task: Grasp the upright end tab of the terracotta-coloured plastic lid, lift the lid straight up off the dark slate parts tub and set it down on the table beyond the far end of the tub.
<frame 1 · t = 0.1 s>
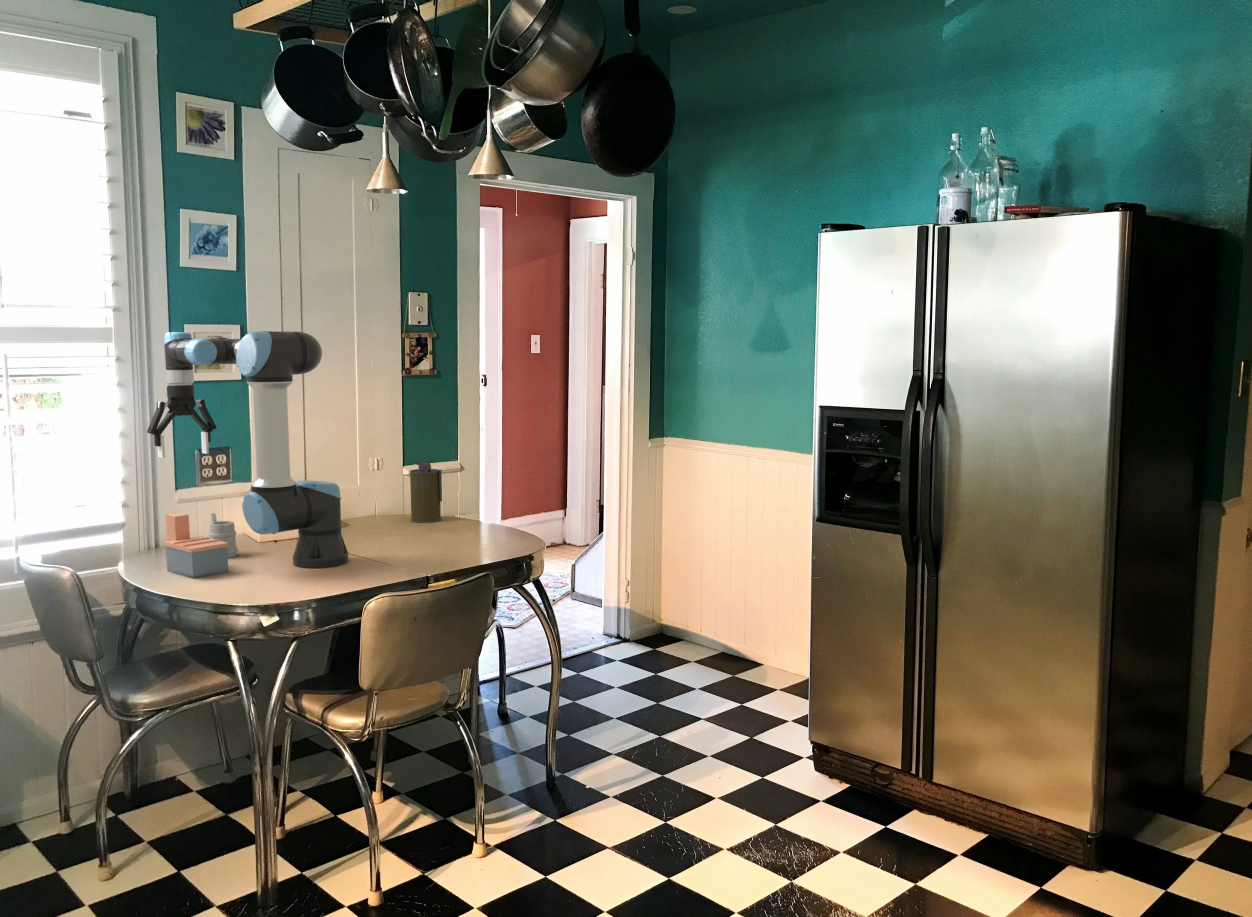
hand: (183, 455, 311), 28 cm above the table, fingers open, 13 cm apart
lid: (196, 545, 282), point 7 cm above the table, touching tub
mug: (220, 555, 304), on the table
canister: (426, 520, 361), on the table
tub: (197, 571, 283), on the table
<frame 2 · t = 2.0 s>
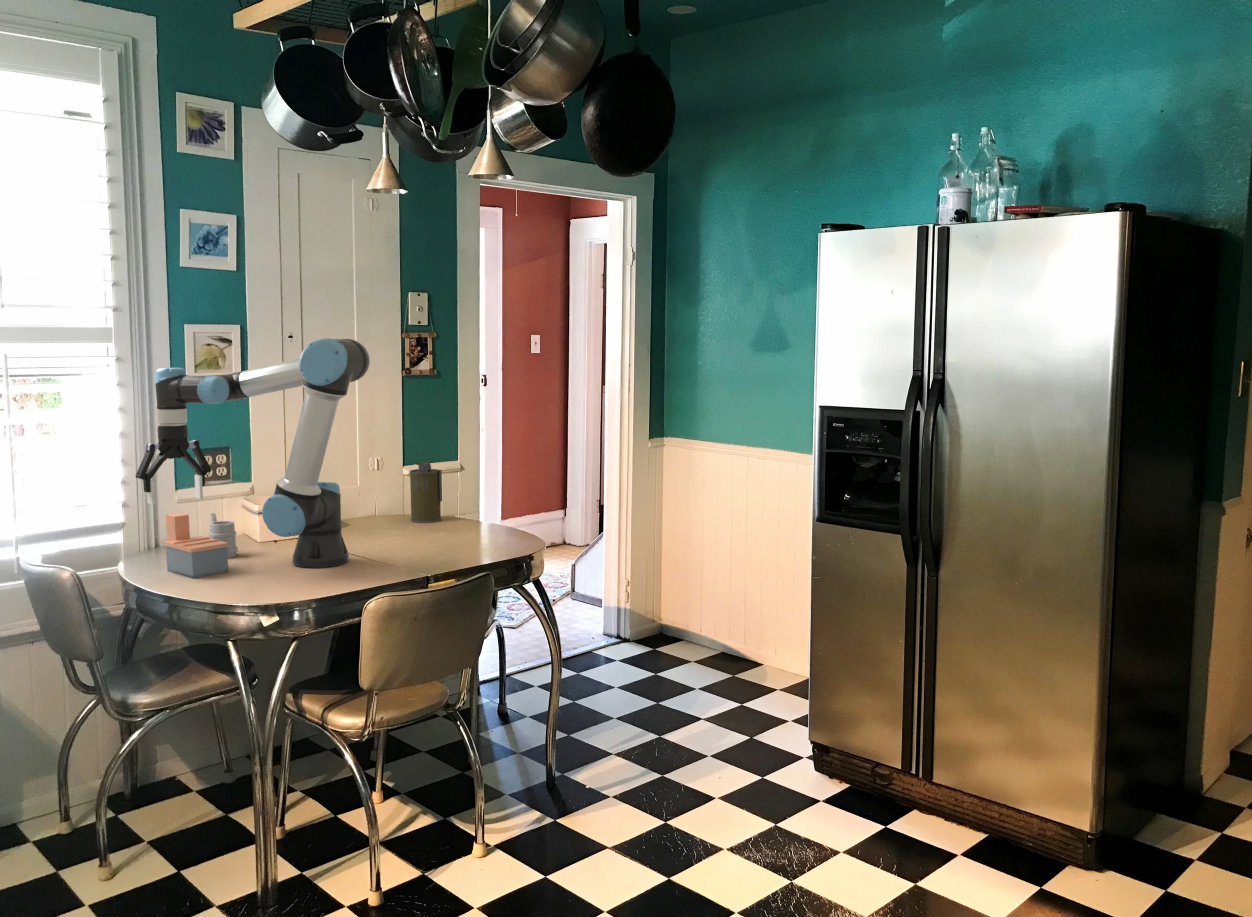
hand: (175, 501, 287), 18 cm above the table, fingers open, 13 cm apart
nothing on the table moved.
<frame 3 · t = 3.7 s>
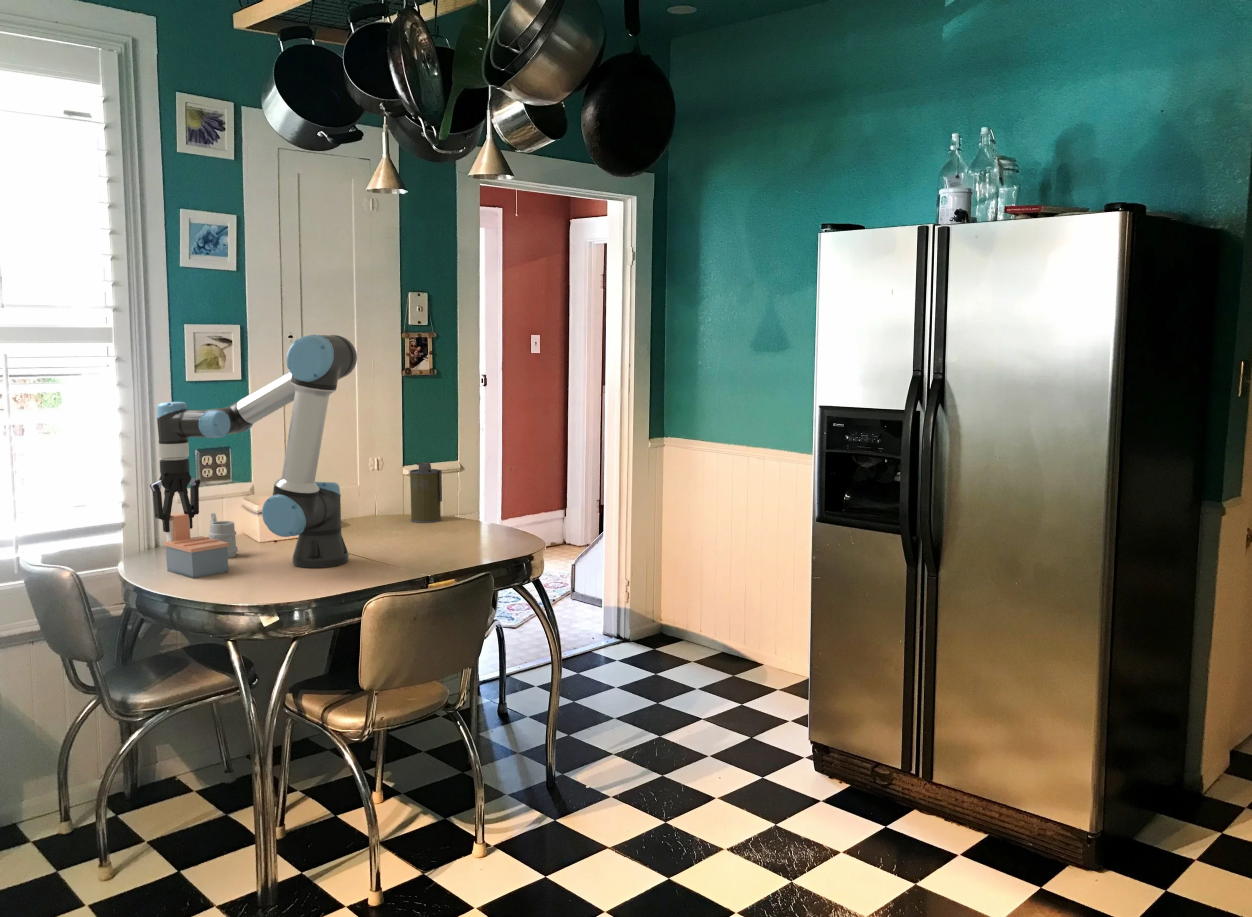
hand: (178, 541, 288), 7 cm above the table, fingers closed on lid, 4 cm apart
lid: (196, 545, 282), point 7 cm above the table, touching gripper, tub
everything else where it was.
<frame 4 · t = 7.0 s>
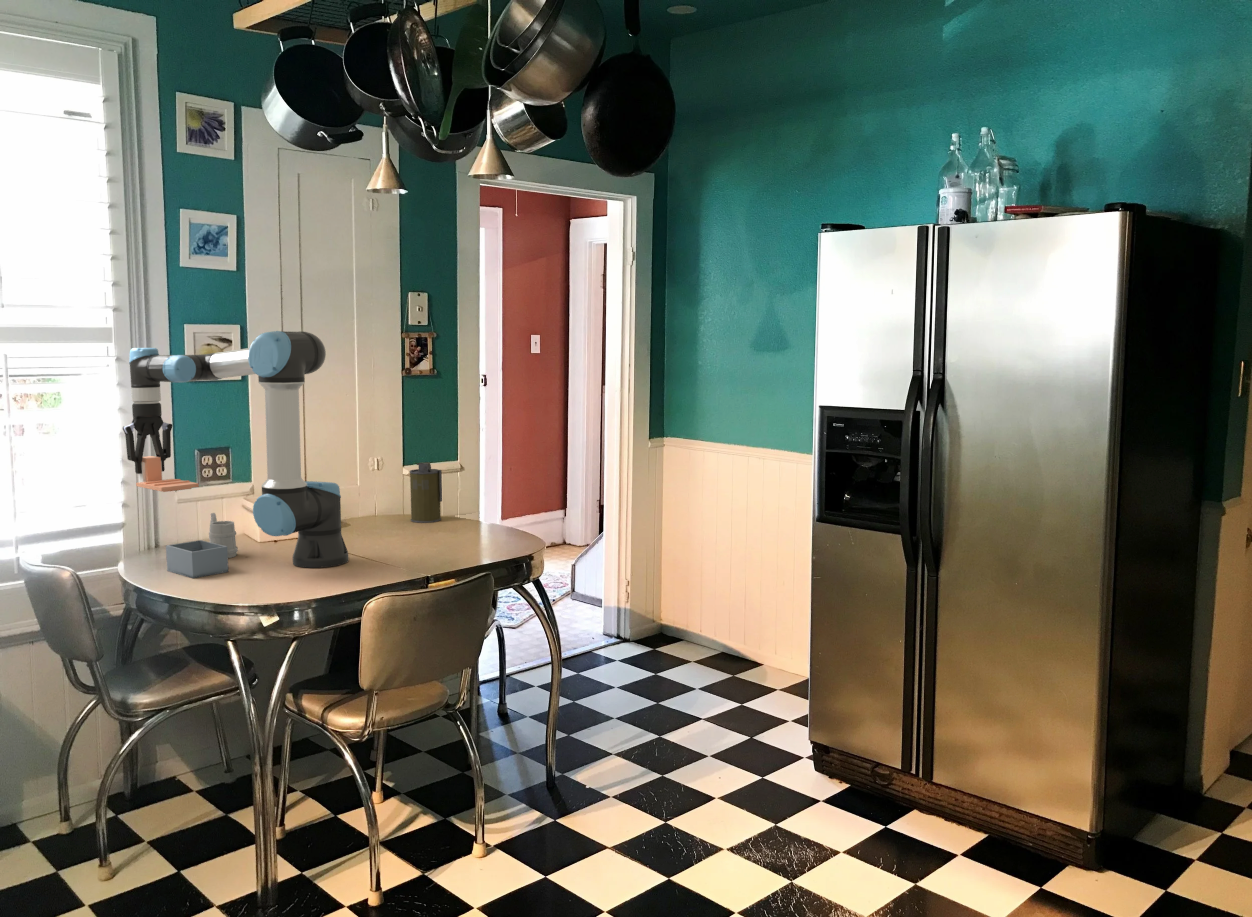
hand: (150, 483, 298), 21 cm above the table, fingers closed on lid, 4 cm apart
lid: (167, 486, 291), point 22 cm above the table, touching gripper
everything else where it was.
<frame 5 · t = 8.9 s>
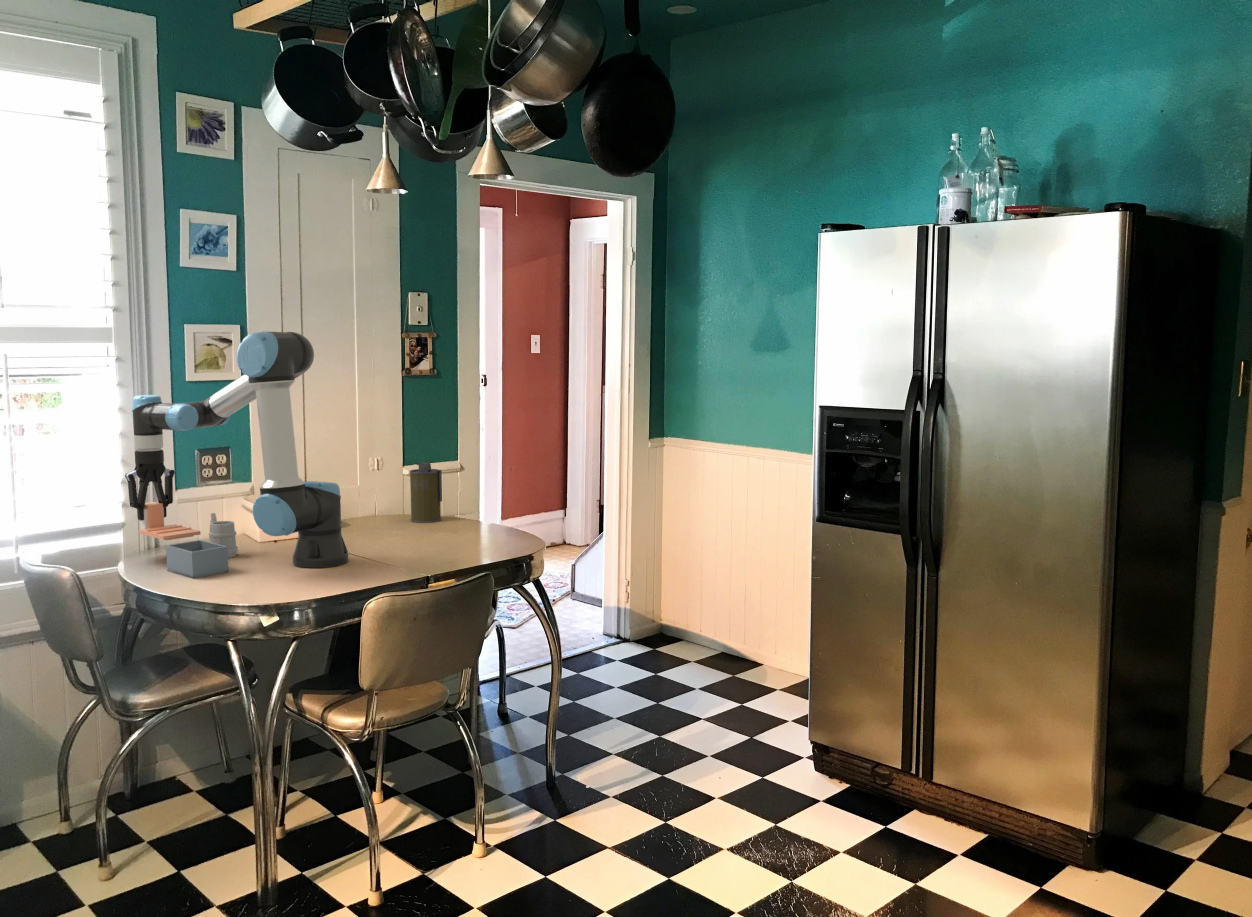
hand: (152, 529, 299), 8 cm above the table, fingers closed on lid, 4 cm apart
lid: (169, 533, 293), point 8 cm above the table, touching gripper
everything else where it was.
when the fingers open (2 cm above the table, at t = 10.2 s): lid drops 2 cm, on the table.
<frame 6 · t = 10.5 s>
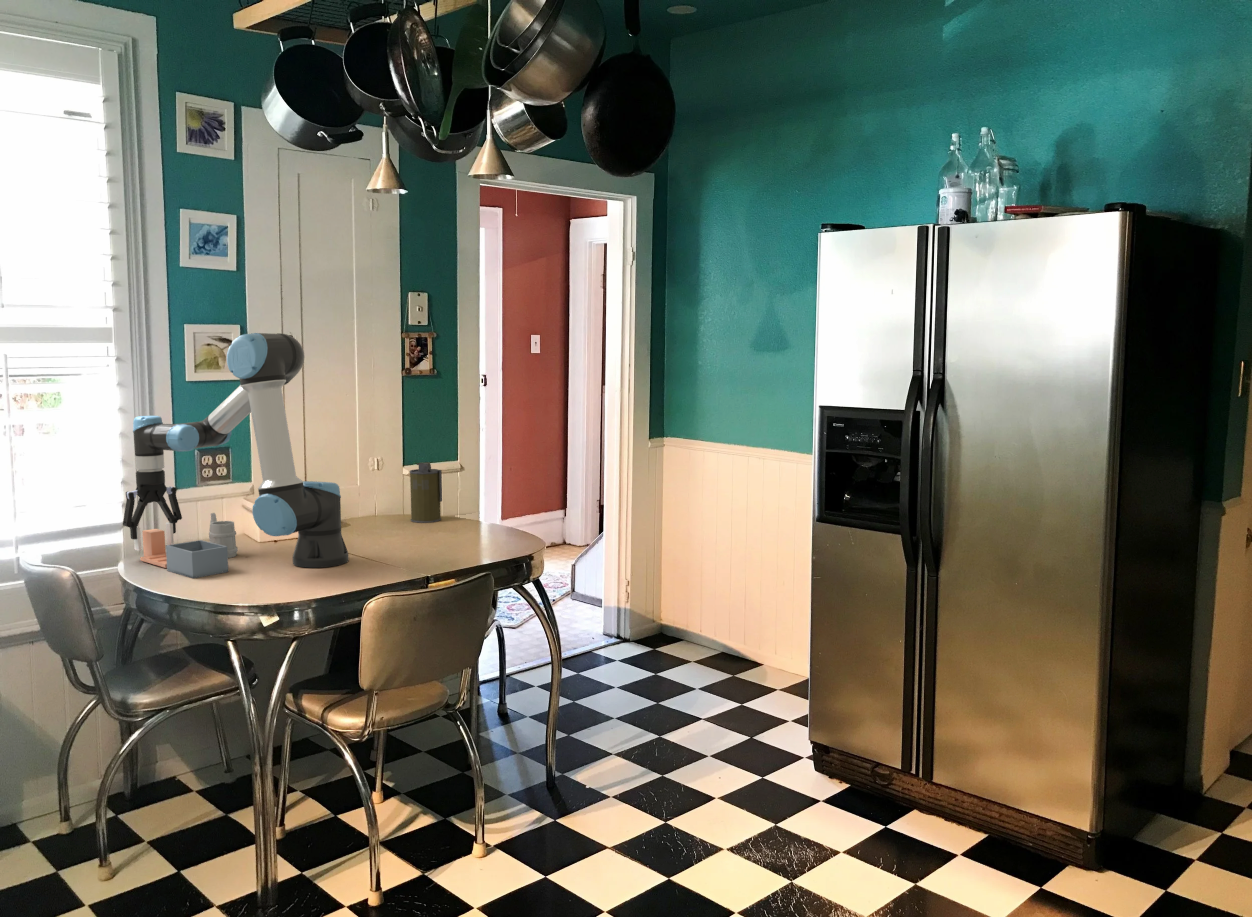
hand: (154, 547, 300), 3 cm above the table, fingers open, 9 cm apart
lid: (171, 560, 294), on the table
everything else where it was.
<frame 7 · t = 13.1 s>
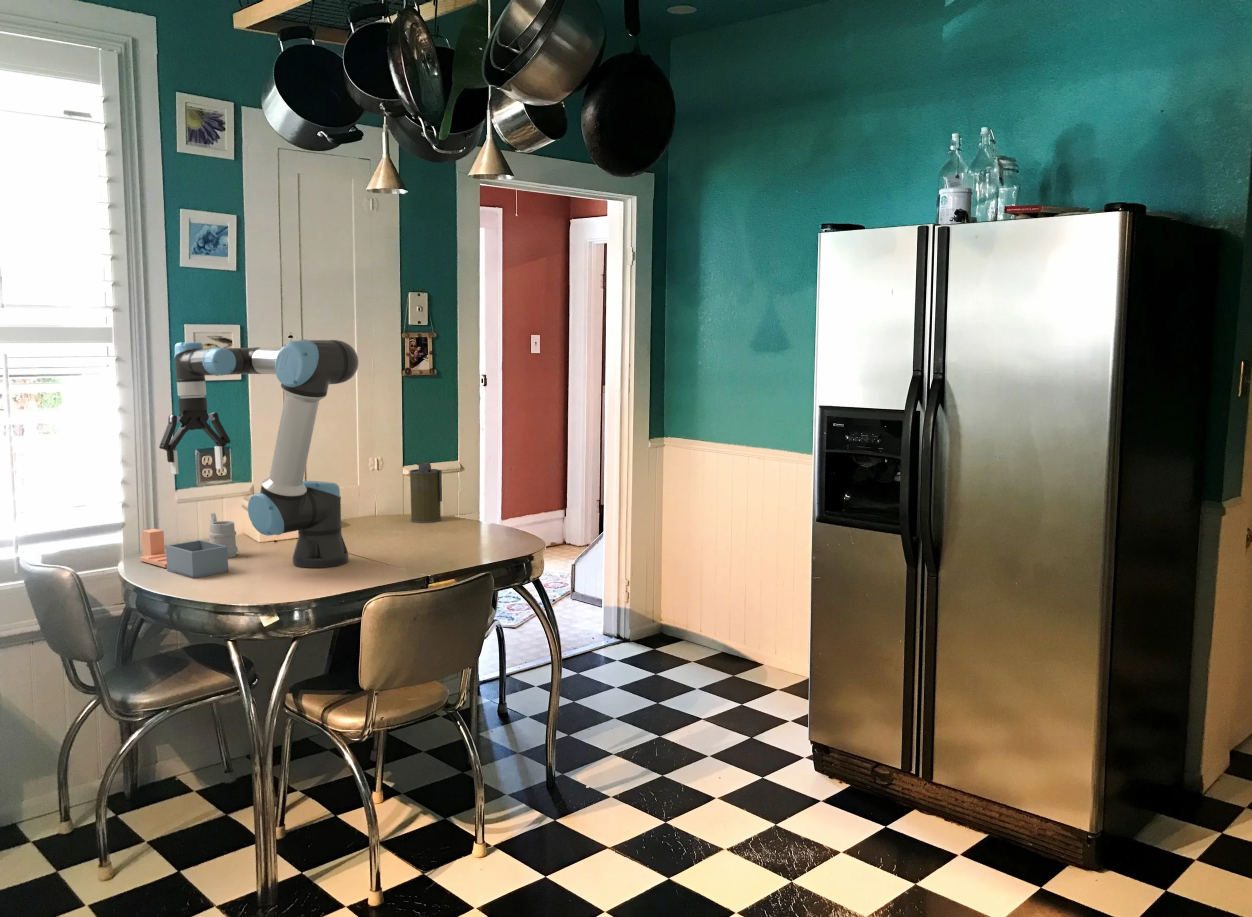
hand: (197, 471, 297), 25 cm above the table, fingers open, 13 cm apart
nothing on the table moved.
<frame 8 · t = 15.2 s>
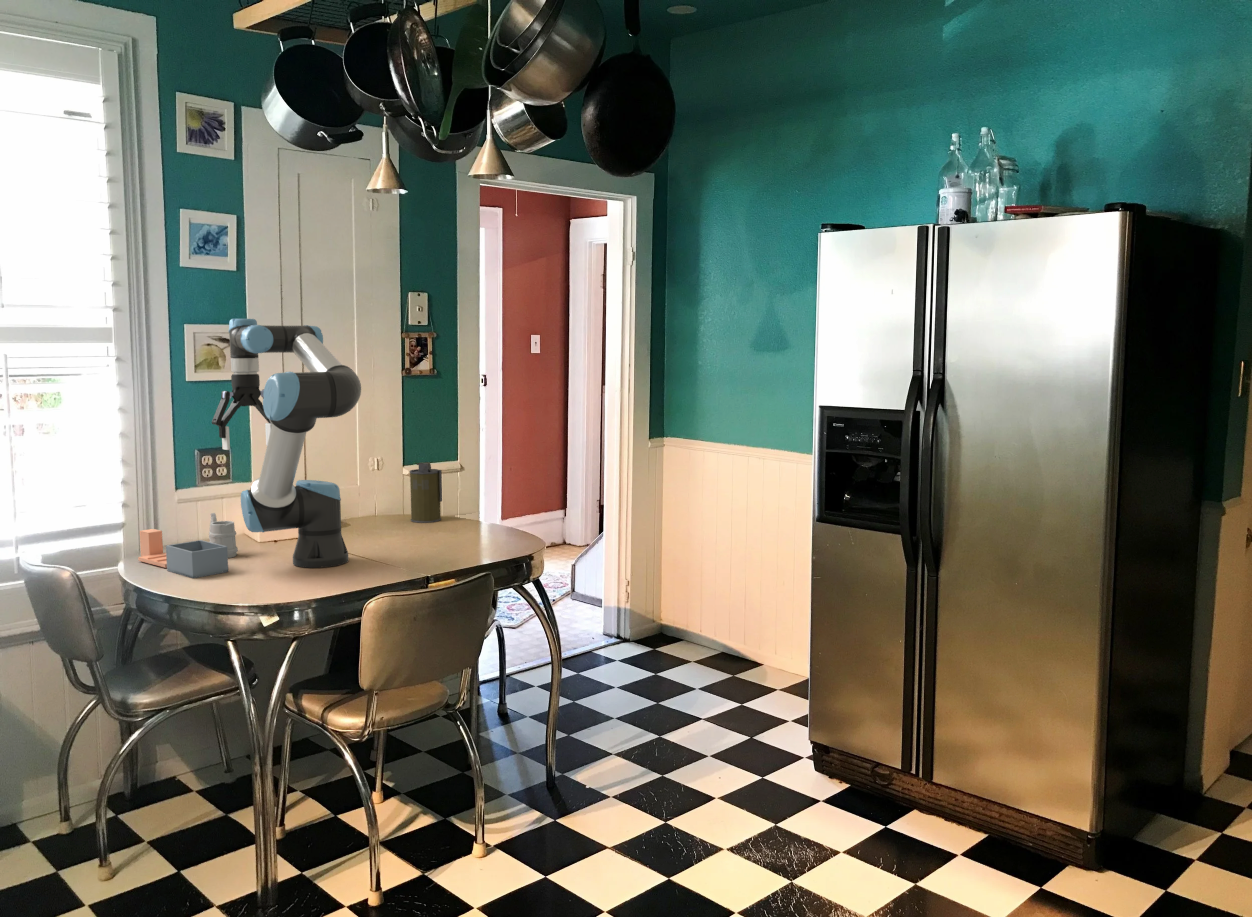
hand: (248, 447, 298), 32 cm above the table, fingers open, 13 cm apart
nothing on the table moved.
at the end: lid inside the target area (0.2 cm from its centre), on the table; lid touching table; the gripper is holding nothing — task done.
